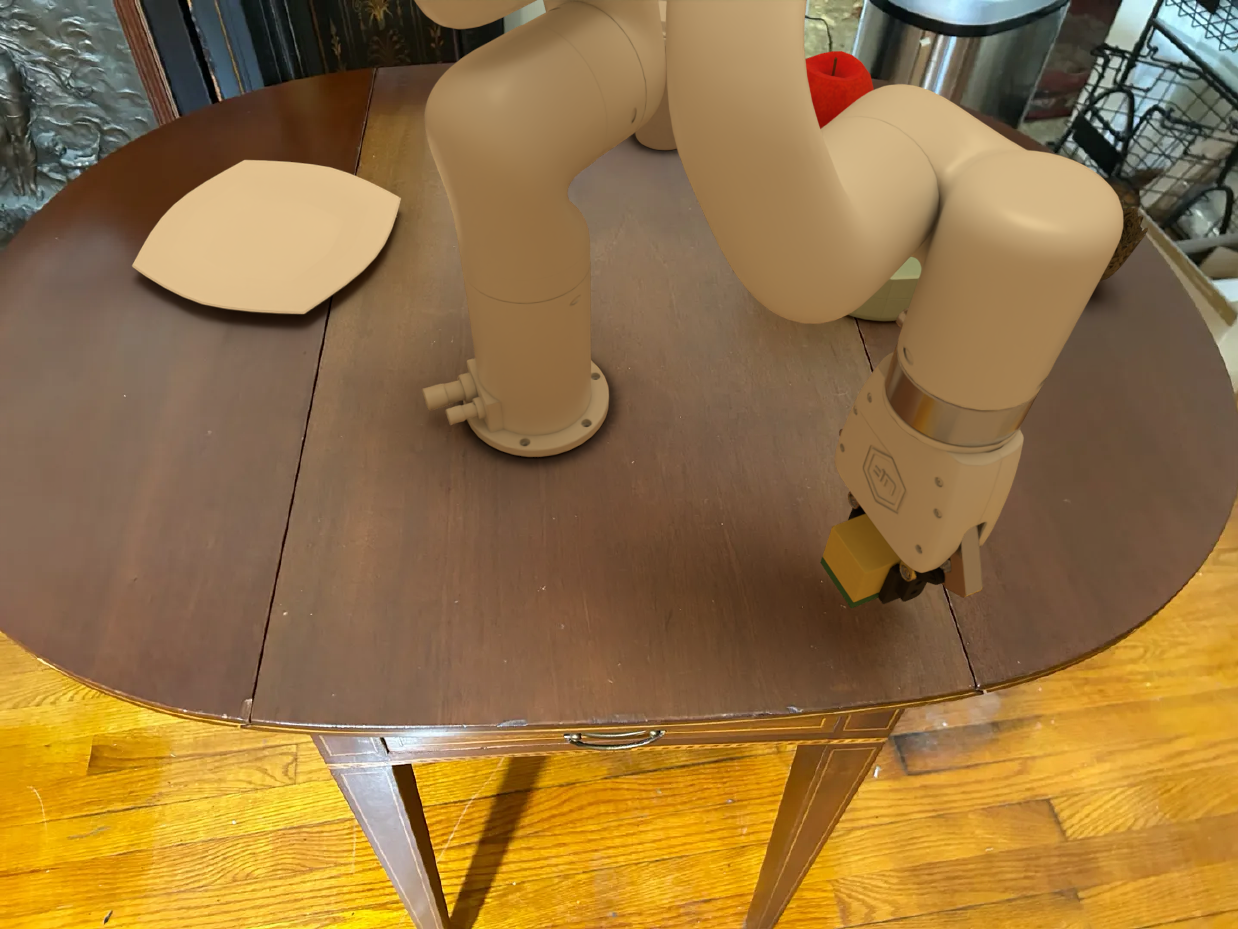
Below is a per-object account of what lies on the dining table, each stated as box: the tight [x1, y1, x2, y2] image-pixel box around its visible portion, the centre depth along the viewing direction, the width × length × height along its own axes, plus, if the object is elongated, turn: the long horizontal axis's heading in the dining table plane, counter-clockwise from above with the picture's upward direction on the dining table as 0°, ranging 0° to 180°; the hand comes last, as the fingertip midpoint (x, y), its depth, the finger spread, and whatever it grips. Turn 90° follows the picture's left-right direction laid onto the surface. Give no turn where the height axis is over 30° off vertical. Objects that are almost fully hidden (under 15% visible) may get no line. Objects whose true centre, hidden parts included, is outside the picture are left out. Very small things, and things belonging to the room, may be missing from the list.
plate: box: [131, 159, 402, 316], centre depth 91 cm, size 23×23×2 cm
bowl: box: [847, 257, 921, 322], centre depth 89 cm, size 15×15×6 cm
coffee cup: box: [634, 0, 677, 151], centre depth 100 cm, size 10×10×15 cm
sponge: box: [820, 514, 901, 609], centre depth 61 cm, size 7×4×4 cm, turn 113°
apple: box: [805, 50, 875, 129], centre depth 98 cm, size 10×10×12 cm
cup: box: [1098, 199, 1149, 283], centre depth 88 cm, size 8×7×8 cm
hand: (879, 565), depth 63 cm, fingers closed on sponge, 4 cm apart
